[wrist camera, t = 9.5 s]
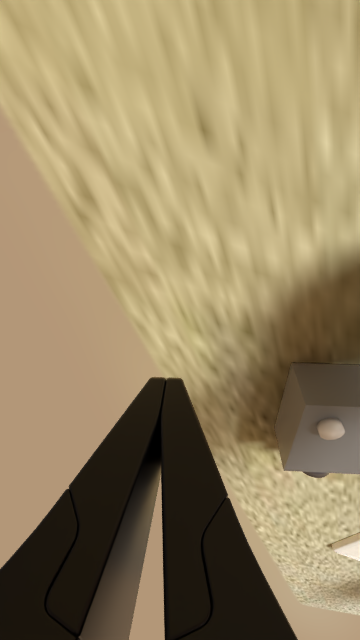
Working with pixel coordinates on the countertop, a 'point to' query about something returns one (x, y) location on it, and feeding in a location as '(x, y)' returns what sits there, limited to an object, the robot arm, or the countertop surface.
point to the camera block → (320, 419)
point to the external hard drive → (348, 546)
